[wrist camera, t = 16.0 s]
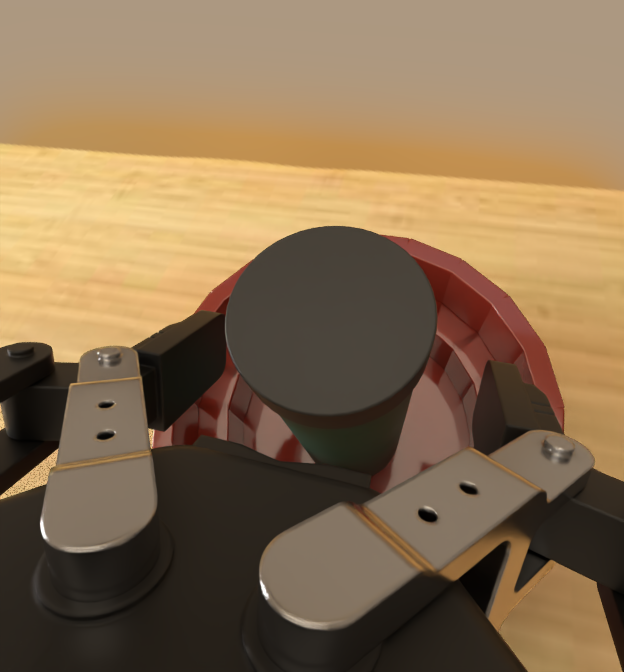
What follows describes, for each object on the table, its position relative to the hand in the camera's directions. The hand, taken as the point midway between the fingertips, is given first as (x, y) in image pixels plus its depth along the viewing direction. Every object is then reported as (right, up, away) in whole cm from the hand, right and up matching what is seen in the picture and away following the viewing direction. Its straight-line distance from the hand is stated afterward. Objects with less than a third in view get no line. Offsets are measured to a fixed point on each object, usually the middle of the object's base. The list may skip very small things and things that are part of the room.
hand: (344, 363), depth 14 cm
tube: (+1, -4, +7) cm, 8 cm away
